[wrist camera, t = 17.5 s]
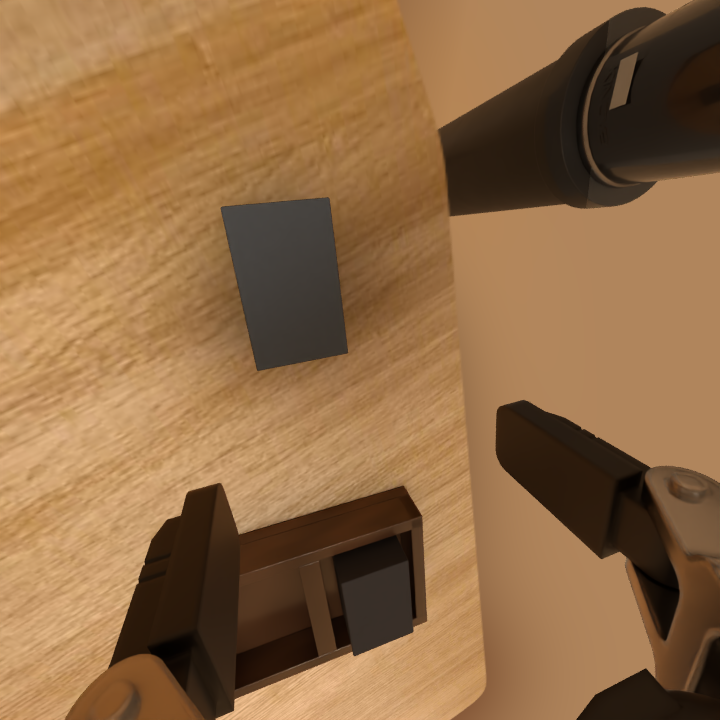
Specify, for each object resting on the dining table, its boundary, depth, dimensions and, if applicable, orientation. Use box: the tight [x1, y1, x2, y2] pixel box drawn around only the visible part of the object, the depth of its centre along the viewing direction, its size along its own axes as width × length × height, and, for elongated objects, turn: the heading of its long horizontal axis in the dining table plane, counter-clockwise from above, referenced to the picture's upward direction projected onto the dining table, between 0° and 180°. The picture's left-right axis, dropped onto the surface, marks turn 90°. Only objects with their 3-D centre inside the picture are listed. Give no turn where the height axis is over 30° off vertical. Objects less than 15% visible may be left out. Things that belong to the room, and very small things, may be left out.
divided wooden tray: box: [234, 486, 427, 699], centre depth 28 cm, size 18×12×4 cm
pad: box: [221, 197, 348, 371], centre depth 19 cm, size 5×8×4 cm, turn 6°
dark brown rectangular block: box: [333, 535, 413, 656], centre depth 27 cm, size 5×8×4 cm, turn 6°
